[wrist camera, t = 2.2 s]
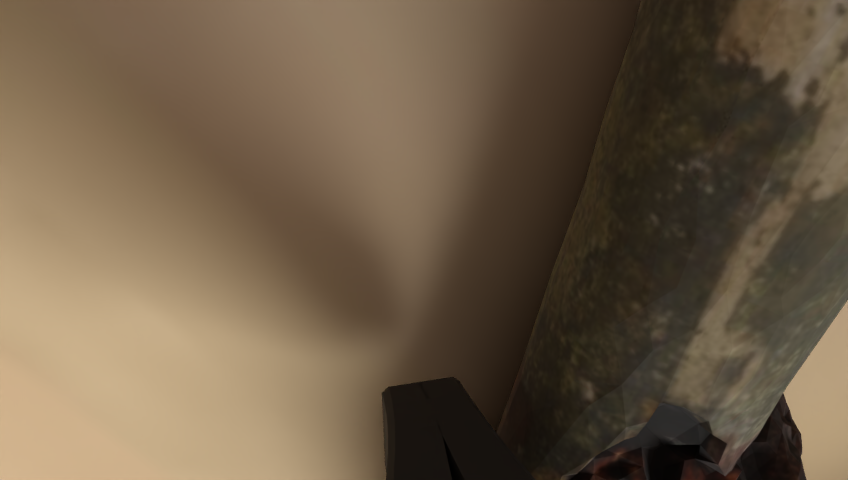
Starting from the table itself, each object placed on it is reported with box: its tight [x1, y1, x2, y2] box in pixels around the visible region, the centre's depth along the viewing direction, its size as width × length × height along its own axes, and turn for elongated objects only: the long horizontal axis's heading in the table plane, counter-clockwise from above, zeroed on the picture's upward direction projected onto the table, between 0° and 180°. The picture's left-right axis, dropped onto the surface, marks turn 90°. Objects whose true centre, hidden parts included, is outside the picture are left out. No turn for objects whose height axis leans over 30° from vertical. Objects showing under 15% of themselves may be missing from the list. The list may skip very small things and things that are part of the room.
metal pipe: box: [496, 0, 848, 480], centre depth 13 cm, size 18×7×6 cm, turn 166°
